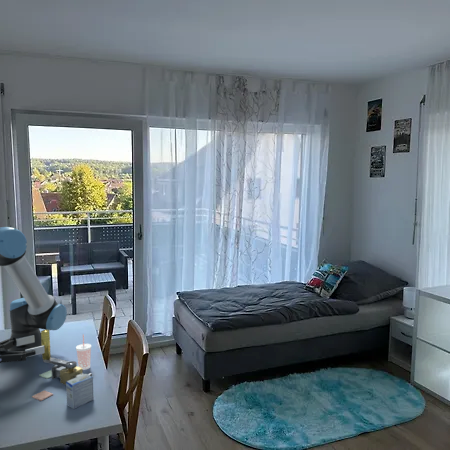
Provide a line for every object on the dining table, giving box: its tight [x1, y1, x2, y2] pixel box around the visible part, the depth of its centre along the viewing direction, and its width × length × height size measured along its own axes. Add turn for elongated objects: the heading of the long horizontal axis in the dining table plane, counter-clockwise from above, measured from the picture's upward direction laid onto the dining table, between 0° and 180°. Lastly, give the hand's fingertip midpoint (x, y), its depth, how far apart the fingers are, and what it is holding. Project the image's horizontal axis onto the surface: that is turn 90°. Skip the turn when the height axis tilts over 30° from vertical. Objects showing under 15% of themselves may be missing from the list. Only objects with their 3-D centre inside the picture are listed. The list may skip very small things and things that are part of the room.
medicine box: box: [65, 373, 95, 410], centre depth 144 cm, size 8×4×9 cm, turn 141°
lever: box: [40, 329, 78, 369], centre depth 161 cm, size 16×4×12 cm, turn 66°
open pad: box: [38, 369, 52, 380], centre depth 166 cm, size 5×5×1 cm
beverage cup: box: [75, 334, 92, 371], centre depth 172 cm, size 6×6×14 cm
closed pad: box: [31, 389, 54, 402], centre depth 149 cm, size 5×5×1 cm
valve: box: [50, 365, 93, 386], centre depth 160 cm, size 18×6×6 cm, turn 58°
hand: (39, 343), depth 162 cm, fingers open, 13 cm apart
